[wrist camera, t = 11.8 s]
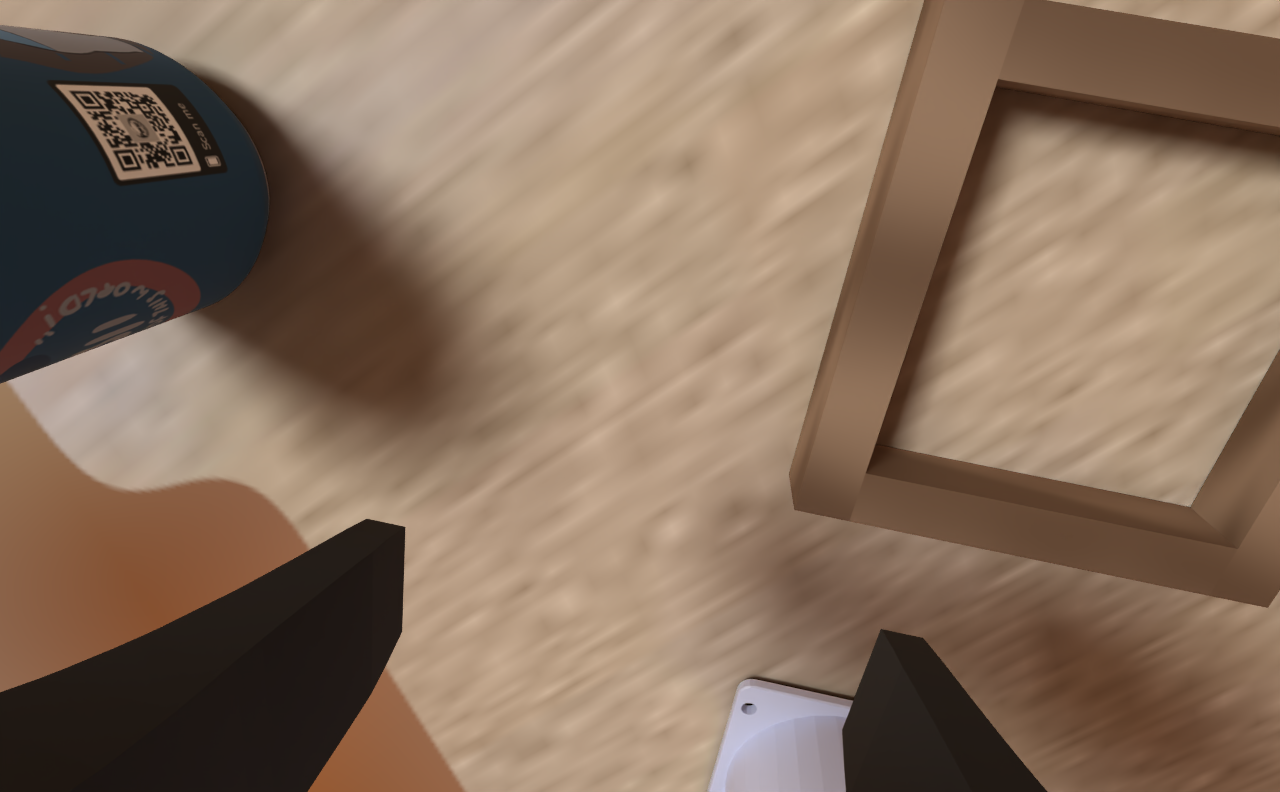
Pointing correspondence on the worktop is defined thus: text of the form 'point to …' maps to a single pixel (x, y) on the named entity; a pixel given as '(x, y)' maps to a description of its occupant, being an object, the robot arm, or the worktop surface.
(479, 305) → the worktop surface
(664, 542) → the worktop surface
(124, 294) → the soda can
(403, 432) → the worktop surface
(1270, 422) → the frame
